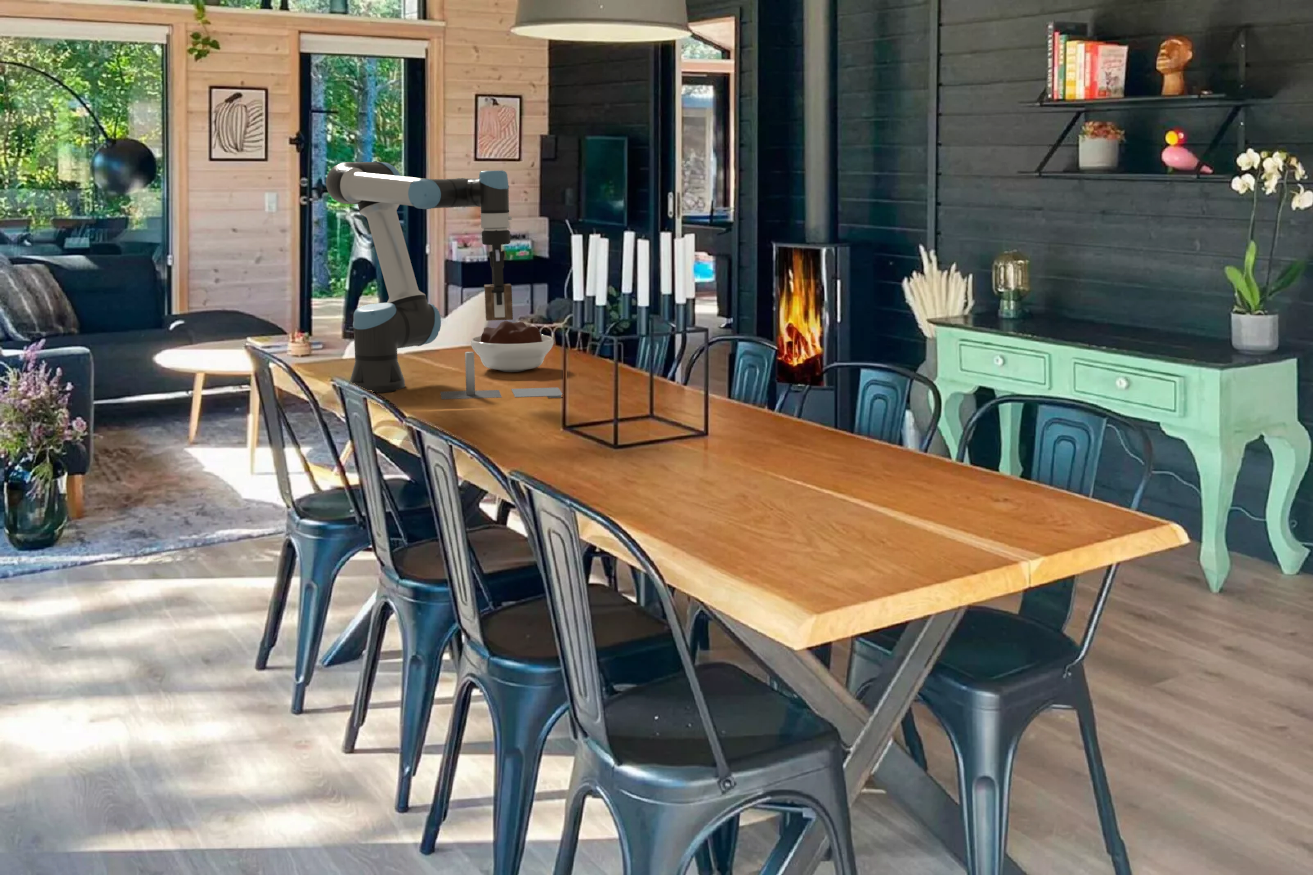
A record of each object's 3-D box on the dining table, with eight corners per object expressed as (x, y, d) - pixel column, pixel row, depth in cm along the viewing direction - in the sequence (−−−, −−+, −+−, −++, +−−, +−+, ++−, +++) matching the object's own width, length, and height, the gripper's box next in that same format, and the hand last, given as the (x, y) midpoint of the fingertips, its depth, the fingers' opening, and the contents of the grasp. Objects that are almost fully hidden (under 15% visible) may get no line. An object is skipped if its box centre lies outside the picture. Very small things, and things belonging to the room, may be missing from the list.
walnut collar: (486, 320, 375) (485, 286, 373) (485, 318, 382) (484, 284, 380) (512, 319, 376) (511, 285, 374) (511, 317, 383) (510, 283, 381)
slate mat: (515, 399, 378) (515, 396, 378) (511, 391, 391) (511, 388, 391) (563, 397, 381) (563, 395, 380) (558, 389, 393) (558, 387, 393)
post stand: (441, 401, 375) (440, 356, 373) (440, 393, 387) (438, 350, 384) (502, 399, 378) (501, 354, 376) (498, 391, 390) (497, 348, 387)
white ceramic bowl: (492, 362, 444) (491, 314, 441) (566, 366, 436) (565, 317, 433) (457, 374, 421) (455, 323, 418) (534, 378, 413) (533, 326, 410)
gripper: (511, 230, 365) (515, 319, 370) (508, 227, 385) (511, 311, 389) (482, 231, 364) (486, 320, 369) (480, 228, 384) (484, 312, 388)
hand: (499, 315), depth 379 cm, fingers closed on walnut collar, 7 cm apart
